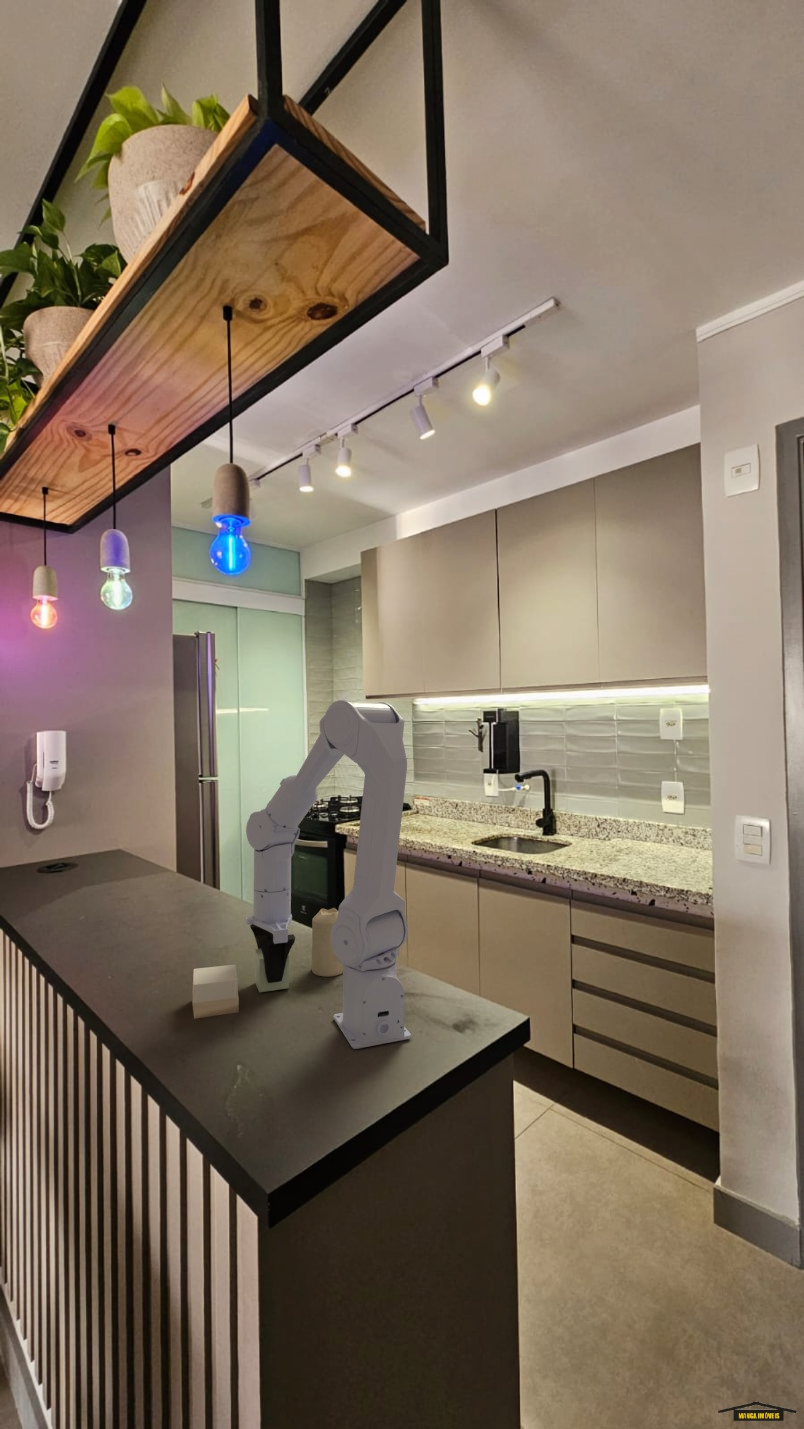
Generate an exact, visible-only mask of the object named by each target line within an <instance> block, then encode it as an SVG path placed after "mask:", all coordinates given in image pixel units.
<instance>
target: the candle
mask: <svg viewBox="0 0 804 1429" xmlns="http://www.w3.org/2000/svg"><path fill="white" fill-rule="evenodd" d="M338 911H339V910H337V909H336V907H332V908H330V909H326V908H320V910H319V911H318V912H317V914H316V915H314V917H313V918H312V921H311V922H312V923H311V924H312V925H311V927H312V928H311V929H312V930H311V931H312V932H311V937H312V938H311V970H312V973H313V975H316V976H319V977H324V978H325V977H329V978H330V977H335V976H339V975H343V964H340V963H339V959H338V958H337V957H336V955H335V953H334V951H333V948H332V944H331V930H332V927H333V925H334V923H335V921H336V919H337V917H338Z"/></svg>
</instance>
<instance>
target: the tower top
mask: <svg viewBox="0 0 804 1429" xmlns="http://www.w3.org/2000/svg"><path fill="white" fill-rule="evenodd" d="M237 972H238V971H237V964H227V965H226V964H225V965H217V966H210V967H209V966H208V967H200V968H198V967H197V968H193V974H192V975H193V978H192V979H193V981H192V986H193V1003H198V1002H206V1001H214V1000H223V999H231V998H238V996H239V993H238V990H239V988H238V984H239V981H238V980H239V979H238V973H237Z"/></svg>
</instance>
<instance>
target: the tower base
mask: <svg viewBox="0 0 804 1429" xmlns="http://www.w3.org/2000/svg"><path fill="white" fill-rule="evenodd" d="M191 991H192V992H191V1003H192V1014H193V1019H200V1018H202V1019H203V1018H208V1017H213V1016H220V1015H227V1014H233V1013H239V1006H240V1004H239V999H240V997H239V995H238V998H231V999H223V1000H214V1001H206V1002H198V1003H193V985H192V986H191Z"/></svg>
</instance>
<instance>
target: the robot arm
mask: <svg viewBox="0 0 804 1429" xmlns="http://www.w3.org/2000/svg"><path fill="white" fill-rule="evenodd" d="M404 730H405V720H404V717H402V716H401V715H400V713H399V712H398V711H397V709H396V708H395V707H394V706H393V705H392V704H390V703H388V702H379V701H378V702H360V701H348V700H345V699H343V700H342V699H339V700H336V701H333V702H332V703H331V704H330V705H329V706H328V708H327V710H326V711H325V714H324V716H323V717H321V719H320V720H319V733H320V734H319V735H318V737H317V739H316V741H315V742H314V744H313V745H312V748H311V750H310V751H309V753H308V755H307V757H306V758H305V760H304V762H303V763H302V765H301V767H300V768H299V770H298V773H297V774H296V775H289V776H287V777H285V778H282V779H281V781H280V783H279V788H278V789H277V791H276V792H275V793H274V795H273V796H272V798H271V799H270V800H269V801H268V802H267V804H266V806H265V808H261V810H259V811H254V812H252V813H250V815H249V818H248V820H247V822H246V827H245V828H246V829H245V832H246V834H245V835H246V838H247V841H248V844H249V845H250V847H251V848H252V849H253V915H251V916H246V917H245V923H246V925H248V926H249V927H250V929H251V931H252V933H253V936H254V939H255V942H256V946H257V949H261V950H262V954H263V958H264V965H265V973H266V978H267V981H268V983H274V982H281V981H282V978H283V974H284V970H285V965H286V961H287V957H288V954H290V952H291V949H292V948H293V946H294V944H295V941H296V936H295V935H294V934H288V932H289V927H290V925H291V924H292V920H293V915H292V913H291V912H292V911H291V910H292V909H291V908H292V907H291V902H292V901H291V900H292V895H291V894H292V857H293V856H294V854H295V847H296V843H297V841H298V839H299V837H300V833H301V832H300V831H301V829H300V828H299V825H300V824H301V822H302V821H303V820H304V818H305V816H307V814H308V812H309V811H310V810H311V808H312V807H313V806H314V805H315V803H316V802H317V800H318V791H317V787H318V786H319V785H320V784H321V782H322V781H323V780H324V779H325V778H326V777H327V776H328V774H329V773H330V772H331V771H332V769H333V768H334V767H335V766H336V765H337V764H338V762H339V761H340V760H341V759H342V757H343V756H344V755H345V756H346V757H347V758H349V759H350V760H351V761H352V762H354V763H355V764H357V765H358V767H360V769H361V771H362V772H363V773H364V781H363V788H362V790H363V791H362V801H361V810H360V817H359V818H360V819H359V829H358V839H357V846H356V847H357V848H356V858H355V866H354V875H353V876H354V877H353V887H352V889H351V890H350V891H349V892H348V894H347V895H346V896H345V898H344V899H343V900H342V902H341V903H340V904H339V906H338V910H337V911H338V917H337V919H336V921H335V923H334V925H333V927H332V930H331V944H332V948H333V951H334V953H335V955H336V957H337V958H338V959H339V963H340V964H343V973H342V1012H340V1013H335V1014H334V1015H333V1020H334V1021H335V1023H336V1025H338V1027H339V1029H340V1030H341V1032H342V1034H343V1035H344V1037H345V1039H346V1040H347V1042H348V1043H349V1045H350V1047H351V1048H352V1049H354V1050H358V1049H363V1048H368V1047H373V1046H378V1045H384V1044H389V1043H394V1042H399V1041H404V1040H405V1041H406V1040H410V1039H411V1037H412V1034H411V1033H410V1031H409V1030H408V1029H407V1028H406V1026H405V1009H406V1008H405V1007H406V1006H405V1005H406V1004H405V1001H406V1000H405V999H406V997H405V989H404V986H403V984H402V982H401V981H400V979H399V978H398V975H397V958H398V957H399V956H400V948H401V947H402V946H403V945H404V944H405V943H406V941H407V937H408V934H409V927H408V921H407V918H406V911H405V910H406V900H405V899H403V898H402V896H400V895H399V893H397V892H396V891H395V881H396V873H397V863H398V856H399V855H398V854H399V853H398V852H399V847H400V846H399V845H400V836H401V827H402V819H403V818H402V816H403V808H404V798H405V792H406V791H405V790H406V781H407V773H408V760H407V759H408V758H407V754H406V749H405V745H404V740H403V737H404Z"/></svg>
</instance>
